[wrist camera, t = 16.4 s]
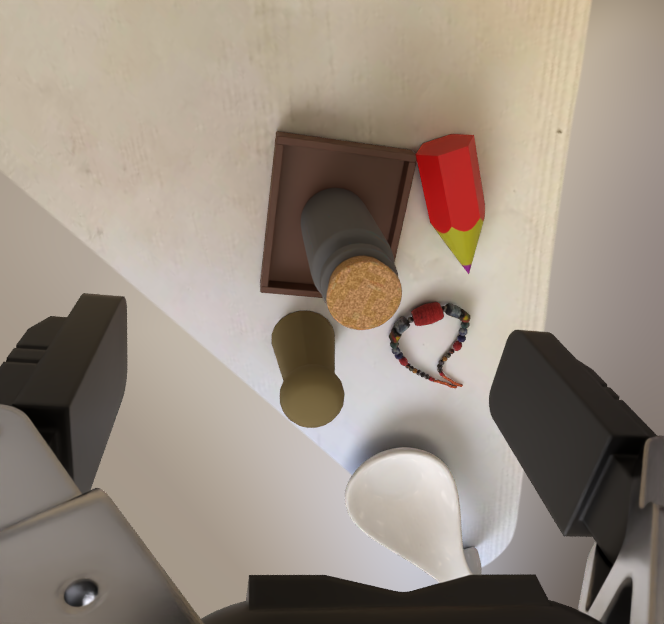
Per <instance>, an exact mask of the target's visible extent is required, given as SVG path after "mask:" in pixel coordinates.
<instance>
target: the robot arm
mask: <svg viewBox="0 0 664 624" xmlns="http://www.w3.org/2000/svg"><path fill="white" fill-rule="evenodd" d="M126 379H127V305H126V299H125V297H123V296H111V295H99V294H86V293H84V294H82V295H81V297H80V298H79V300H78V301H77V303H76V305H75V306H74V308H73V309H72V311H71V312H70V314H69V315H68V317H55V316H50V317H48V318H46V319H45V320H43V321H41V322H40V323H38V324H36V325H34V326H32V327H31V328H29V329H28V330H27V332H26V333H25V334H24V335H23V337H22V338H21V340H20V341H19V342H18V343H17V345H16V348H14V349H13V350H12V352H11V353H10V354H9V356H8V357H7V360H6V362H3V364H2V365H1V366H0V624H664V436H657V435H656V434H655V433H654V432H653V431H652V430H651V429H650V428H649V427H648V426H647V425H646V424H645V423H644V422H643V421H642V420H641V419H640V418H639V417H638V416H637V415H636V414H635V412H634V411H633V410H631V408H630V407H629V406H628V405H627V404H626V403H625V402H624V401H623V400H619V396H618V395H617V394H616V393H615V392H614V391H613V390H612V389H611V388H609V387H607V384H606V383H605V382H604V381H603V380H602V379H601V378H600V377H599V376H598V375H597V374H596V373H595V372H594V370H592V369H591V368H589V367H588V366H586V365H584V364H583V363H582V362H580V361H578V360H577V359H576V358H575V357H574V356H573V355H572V354H571V353H570V352H569V351H568V350H567V349H566V348H565V347H564V346H563V345H562V344H561V343H560V342H559V340H557V338H556V337H555V336H554V335H553V334H551V333H549V332H538V331H526V330H515V331H513V332H512V333H511V334H510V335H509V337H508V339H507V342H506V345H505V348H504V351H503V354H502V357H501V360H500V363H499V366H498V368H497V371H496V374H495V377H494V380H493V383H492V386H491V390H490V395H489V407H490V412H491V415H492V418H493V420H494V421H495V423H496V425H497V426H498V428H499V430H500V431H501V433H502V435H503V436H504V438H505V440H506V441H507V443H508V445H509V446H510V448H511V450H512V451H513V453H514V455H515V456H516V458H517V460H518V461H519V463H520V464H521V466H522V468H523V469H524V471H525V473H526V474H527V476H528V478H529V479H530V481H531V483H532V484H533V486H534V487H535V489H536V491H537V493H538V494H539V496H540V498H541V499H542V501H543V503H544V504H545V506H546V508H547V509H548V511H549V512H550V514H551V516H552V518H553V519H554V521H555V523H556V524H557V526H558V527H559V529H560V531H561V532H562V534H563V536H586V537H587V536H588V537H593V538H594V539H595V543H594V545H593V547H592V549H591V551H590V553H589V555H588V560H587V565H586V570H585V575H584V581H583V587H582V591H581V597H580V602H579V607H578V610H576V609H574V608H572V607H569V606H566V605H563V604H560V603H557V602H554V601H550V600H548V598H547V596H546V594H545V592H544V590H543V588H542V587H541V585H540V583H539V581H538V579H537V577H536V575H467V576H464V577H460V578H456V579H453V580H449V581H446V582H442V583H438V584H435V585H431V586H428V587H424V588H420V589H417V590H413V591H409V592H398V591H393V590H388V589H383V588H379V587H375V586H371V585H366V584H362V583H357V582H353V581H349V580H344V579H340V578H336V577H331V576H327V575H249V581H248V590H247V597H246V601H244V602H240V603H237V604H233V605H230V606H228V607H225V608H223V609H220V610H217V611H215V612H213V613H211V614H209V615H207V616H205V617H204V618H202V619H200V617H199V616H198V615H197V613H196V612H195V611H194V609H193V608H192V607H191V605H190V604H189V603H188V601H187V600H186V599H185V597H184V596H183V595H182V593H181V592H180V590H179V589H178V588H177V586H176V585H175V584H174V583H173V581H172V580H171V578H170V577H169V576H168V575H167V573H166V572H165V570H164V569H163V568H162V567H161V565H160V564H159V562H158V561H157V560H156V558H155V557H154V556H153V554H152V553H151V552H150V550H149V549H148V548H147V546H146V545H145V544H144V542H143V541H142V539H141V538H140V537H139V536H138V534H137V533H136V532H135V530H134V529H133V527H132V526H131V525H130V523H129V522H128V521H127V519H126V518H125V517H124V515H123V514H122V513H121V511H120V510H119V509H118V507H117V506H116V505H115V503H114V502H113V501H112V499H111V498H110V497H109V496H108V494H107V493H105V492H104V491H103V490H102V489H100V488H95V489H92V490H91V487H92V484H93V481H94V478H95V475H96V472H97V470H98V467H99V464H100V461H101V458H102V456H103V453H104V450H105V447H106V444H107V441H108V439H109V436H110V433H111V430H112V427H113V424H114V422H115V419H116V416H117V413H118V410H119V408H120V405H121V402H122V399H123V396H124V391H125V386H126Z"/></svg>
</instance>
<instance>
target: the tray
mask: <svg viewBox="0 0 664 624" xmlns="http://www.w3.org/2000/svg"><path fill="white" fill-rule="evenodd" d="M416 161H417V159H416V154H415V153H414V152H413V151H412V150H408V149H401V148H394V147H387V146H379V145H372V144H365V143H358V142H351V141H343V140H336V139H329V138H322V137H315V136H307V135H300V134H293V133H286V132H279V131H277V132H276V138H275V148H274V157H273V167H272V176H271V186H270V195H269V205H268V214H267V223H266V233H265V242H264V252H263V261H262V271H261V280H260V292H261V293H273V294H284V295H296V296H307V297H318V298H323V297H322V294H321V293H320V292H319V291H318V289H317V288H316V286H315V284H314V282H313V279H312V275H311V272H310V267H309V263H308V259H307V255H306V250H305V245H304V241H303V236H302V230H301V214H302V211H303V209H304V207H305V205H306V203H307V202H308V201H309V199H310V198H312V197H313V196H314V195H315V194H317V193H318V192H320V191H322V190H325V189H329V188H342V189H346V190H349V191H351V192H353V193H354V194H355V195H357V196H358V197H359V198H360V199H361V200H362V202H363V203H364V204H365V206H366V207H367V209H368V211H369V212H370V214H371V216H372V217H373V219H374V220H375V222H376V224H377V225H378V227H379V229H380V230H381V232H382V233H383V235H384V237H385V239H386V240H387V242H388V244H389V246H390V248H391V250H392V253H393V256H394V262H395V258H396V253H397V248H398V244H399V239H400V235H401V230H402V225H403V221H404V216H405V212H406V207H407V202H408V198H409V193H410V189H411V184H412V179H413V175H414V170H415V166H416Z"/></svg>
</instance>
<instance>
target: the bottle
mask: <svg viewBox="0 0 664 624" xmlns="http://www.w3.org/2000/svg"><path fill="white" fill-rule="evenodd" d="M301 230H302V236H303V241H304V245H305V250H306V255H307V259H308V263H309V267H310V272H311V275H312V279H313V282H314V284H315V286H316V288H317V289H318V291H319V292H320V293H321V294H322V297H323V299H324V301H325V303H326V304H327V306H328V309H329V311H330V313H331V315H332V316H333V317H334V319H335V320H336V321H337V322H339V323H340V324H342V325H343V326H345V327H348V328H351V329H356V330H366V329H371V328H375V327H378V326H380V325H382V324H383V323H385V322H386V321H388V320H389V319H390V318H391V317H392V316H393V315H394V314H395V312H396V310H397V309H398V307H399V305H400V302H401V297H402V288H401V284H400V280H399V279H398V273H397V270H396V267H395V264H394V256H393V253H392V250H391V248H390V246H389V244H388V242H387V240H386V239H385V237H384V235H383V233H382V232H381V230H380V229H379V227H378V225H377V224H376V222H375V220H374V219H373V217H372V216H371V214H370V212H369V211H368V209H367V207H366V206H365V204H364V203H363V202H362V200H361V199H360V198H359V197H358V196H357V195H355V194H354V193H353V192H351V191H349V190H346V189H342V188H329V189H325V190H322V191H320V192H318V193H317V194H315V195H314V196H313V197H312V198H310V199H309V201H308V202H307V203H306V205H305V207H304V209H303V211H302V214H301Z"/></svg>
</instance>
